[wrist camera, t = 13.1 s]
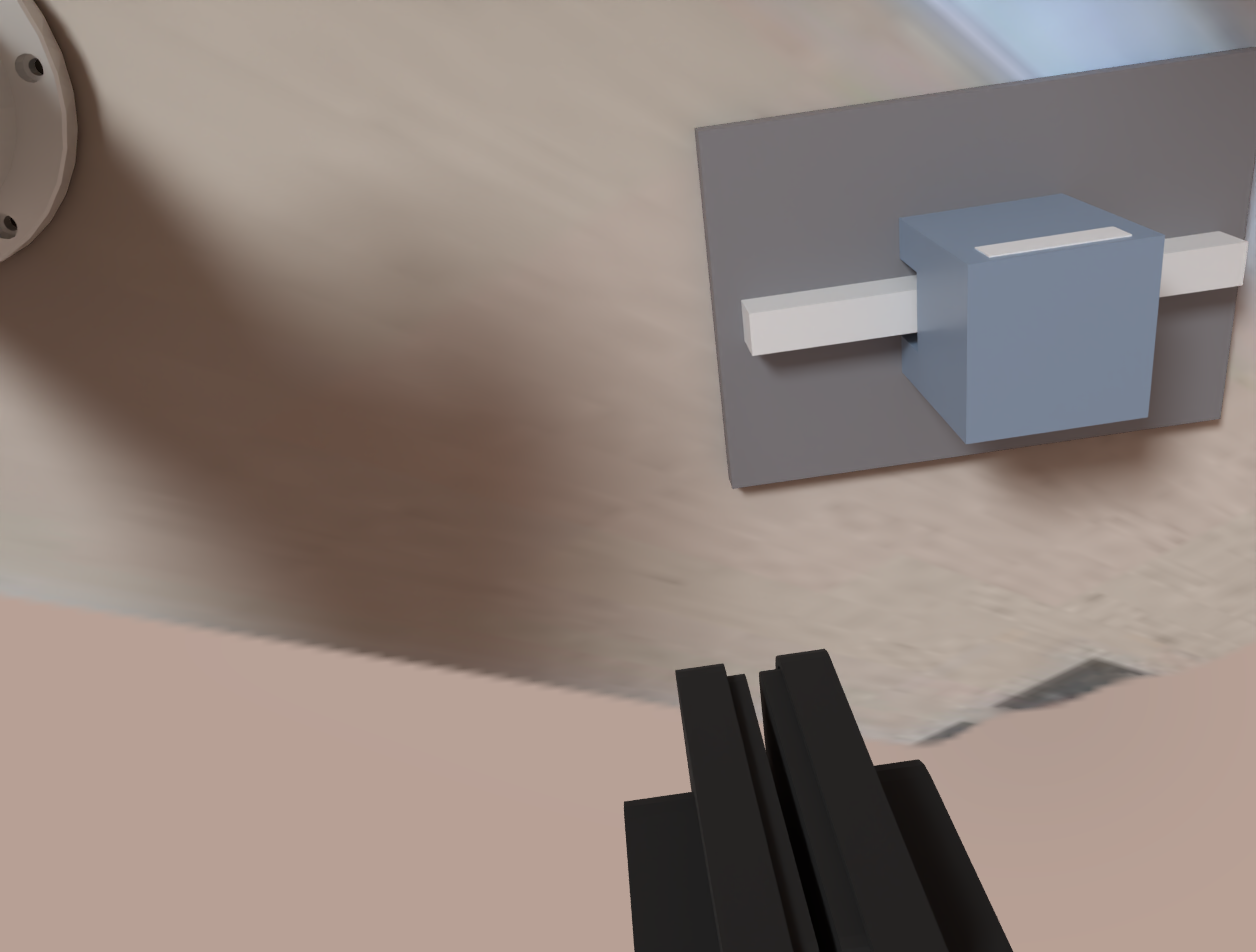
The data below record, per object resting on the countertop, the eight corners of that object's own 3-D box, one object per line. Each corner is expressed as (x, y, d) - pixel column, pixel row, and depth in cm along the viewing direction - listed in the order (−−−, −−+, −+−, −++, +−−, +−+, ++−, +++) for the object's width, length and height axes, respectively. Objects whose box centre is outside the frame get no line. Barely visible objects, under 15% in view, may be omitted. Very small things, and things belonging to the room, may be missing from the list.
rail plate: (728, 478, 42) (739, 508, 40) (694, 128, 36) (704, 138, 34) (1206, 409, 42) (1247, 436, 40) (1252, 46, 36) (1303, 51, 34)
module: (902, 373, 40) (965, 445, 33) (898, 216, 37) (967, 263, 31) (1054, 350, 40) (1147, 418, 33) (1062, 192, 37) (1165, 233, 31)
